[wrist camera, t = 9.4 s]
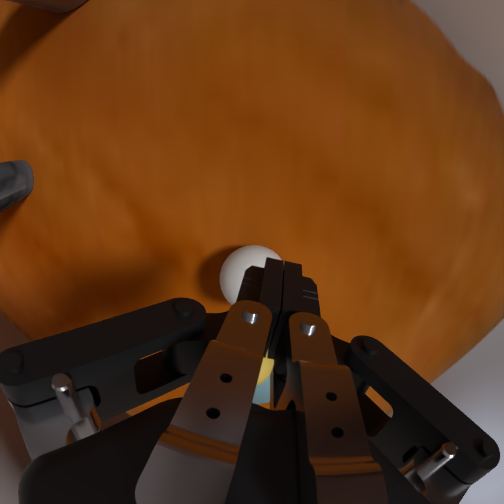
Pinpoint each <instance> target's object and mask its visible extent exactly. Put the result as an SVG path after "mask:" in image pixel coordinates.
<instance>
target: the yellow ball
mask: <svg viewBox="0 0 504 504" xmlns="http://www.w3.org/2000/svg"><path fill="white" fill-rule="evenodd" d="M267 355H268V351H267V354H266V357H265V358H263V362H262V366H261V370H260V374H259V378H258V381H257V385H260V384H261V383H263V382H264V381H266V380H267V379H268V378H269V376H270V374H271V371H272V368H273V365H274V359H269V358H267ZM257 385H256V386H257Z"/></svg>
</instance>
